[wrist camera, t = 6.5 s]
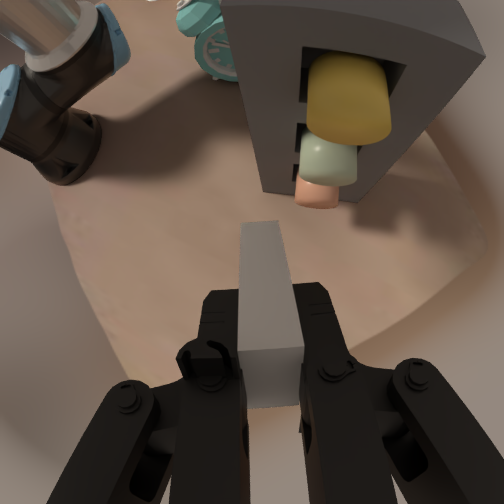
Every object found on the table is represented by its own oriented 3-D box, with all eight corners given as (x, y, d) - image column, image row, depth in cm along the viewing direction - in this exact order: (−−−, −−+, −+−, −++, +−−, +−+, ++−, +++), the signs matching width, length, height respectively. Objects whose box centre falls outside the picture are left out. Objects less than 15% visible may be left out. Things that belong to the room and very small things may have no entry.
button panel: (266, 157, 44) (236, -39, 11) (358, 168, 42) (458, 1, 10) (263, 191, 43) (219, 6, 11) (357, 202, 42) (485, 56, 9)
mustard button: (306, 91, 19) (311, 44, 14) (375, 102, 18) (394, 59, 13) (303, 139, 18) (309, 97, 13) (377, 150, 18) (403, 113, 13)
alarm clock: (196, 90, 46) (158, 10, 26) (199, 54, 47) (169, -23, 27) (296, 83, 45) (299, -6, 25) (291, 46, 45) (291, -37, 26)
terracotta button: (296, 175, 36) (298, 160, 31) (335, 179, 36) (343, 165, 31) (293, 206, 36) (295, 194, 31) (334, 210, 36) (341, 200, 31)
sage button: (300, 144, 27) (303, 119, 23) (350, 150, 27) (362, 127, 22) (297, 182, 27) (300, 162, 22) (350, 189, 27) (363, 170, 22)
